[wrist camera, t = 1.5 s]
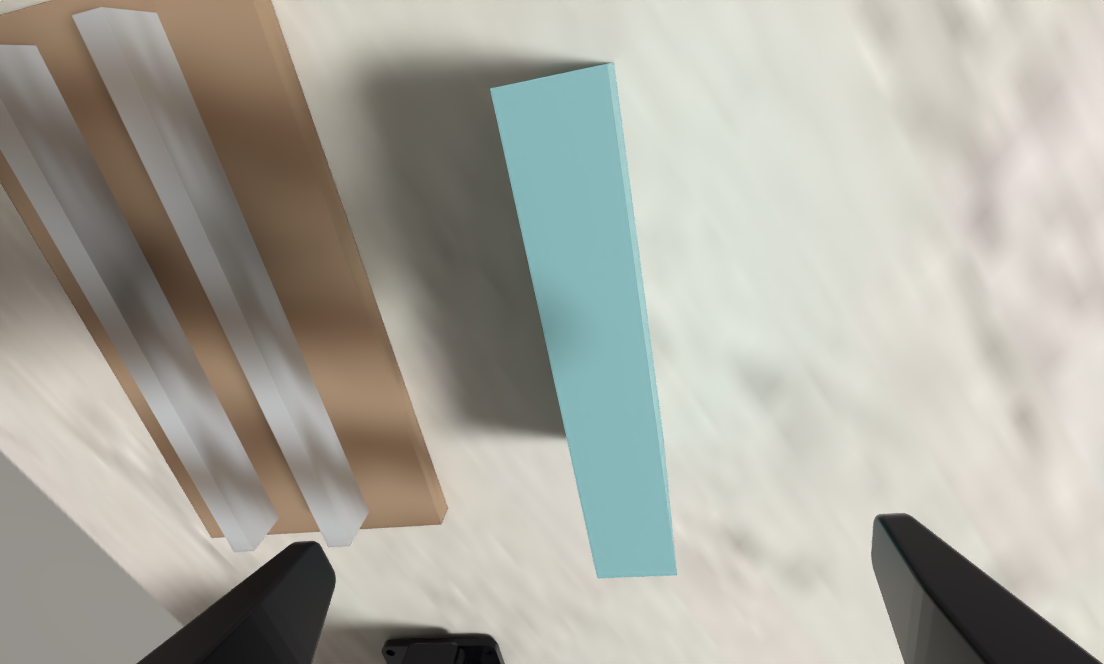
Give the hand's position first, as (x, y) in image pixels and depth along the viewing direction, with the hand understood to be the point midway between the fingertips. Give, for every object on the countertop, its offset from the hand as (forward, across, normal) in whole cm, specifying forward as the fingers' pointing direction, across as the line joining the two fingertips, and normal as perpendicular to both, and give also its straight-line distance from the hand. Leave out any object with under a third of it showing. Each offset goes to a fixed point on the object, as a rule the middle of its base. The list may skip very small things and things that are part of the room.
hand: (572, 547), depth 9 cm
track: (+12, +15, -1) cm, 19 cm away
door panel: (+13, 0, +1) cm, 13 cm away
